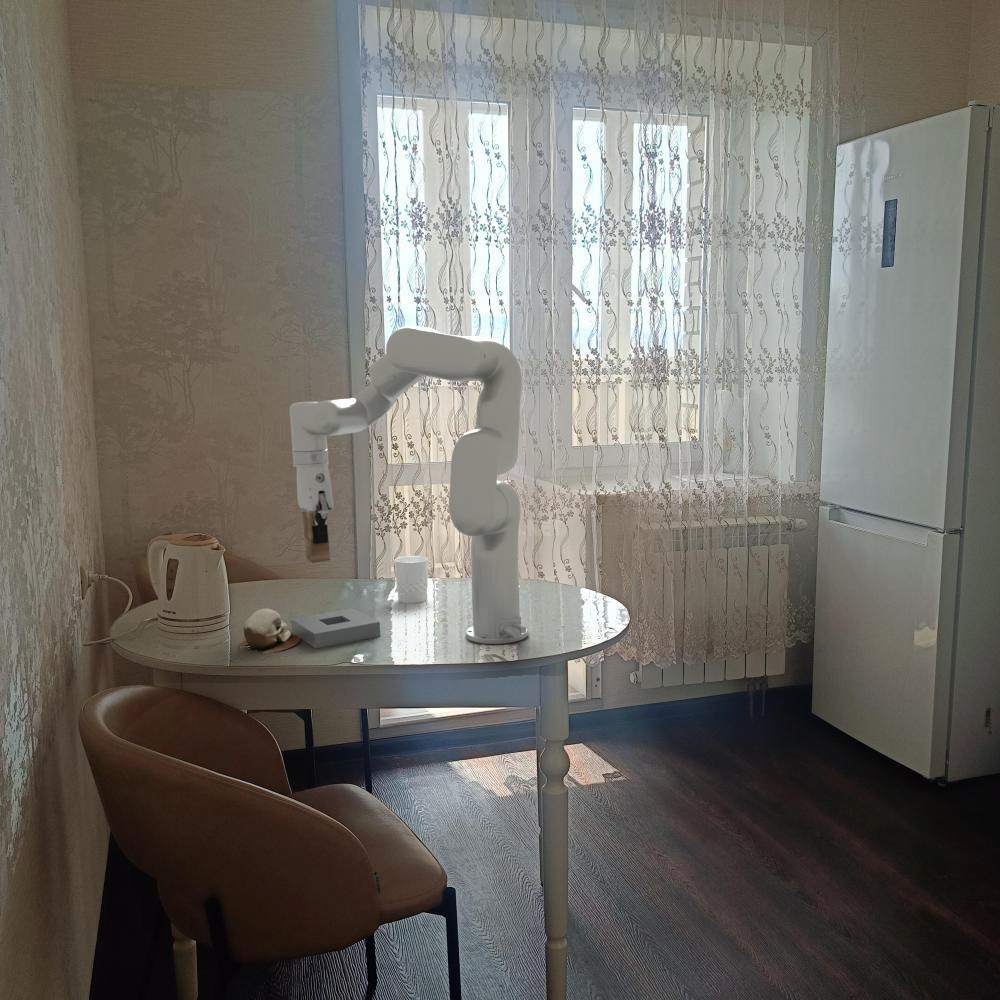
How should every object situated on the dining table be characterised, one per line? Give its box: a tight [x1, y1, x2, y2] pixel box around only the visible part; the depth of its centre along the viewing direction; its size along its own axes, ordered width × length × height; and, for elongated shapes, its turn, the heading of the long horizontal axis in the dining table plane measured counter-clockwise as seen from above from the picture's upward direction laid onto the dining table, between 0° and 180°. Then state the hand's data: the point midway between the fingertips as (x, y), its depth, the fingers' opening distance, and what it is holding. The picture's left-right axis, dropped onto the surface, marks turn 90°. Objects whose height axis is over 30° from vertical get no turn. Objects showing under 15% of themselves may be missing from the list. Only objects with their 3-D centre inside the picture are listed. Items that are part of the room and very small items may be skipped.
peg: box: [301, 508, 331, 564], centre depth 199 cm, size 4×4×12 cm
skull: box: [239, 608, 300, 654], centre depth 183 cm, size 12×10×10 cm
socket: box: [290, 607, 381, 649], centre depth 189 cm, size 14×14×3 cm
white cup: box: [393, 555, 429, 604], centre depth 216 cm, size 8×8×10 cm
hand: (316, 540), depth 200 cm, fingers closed on peg, 4 cm apart
